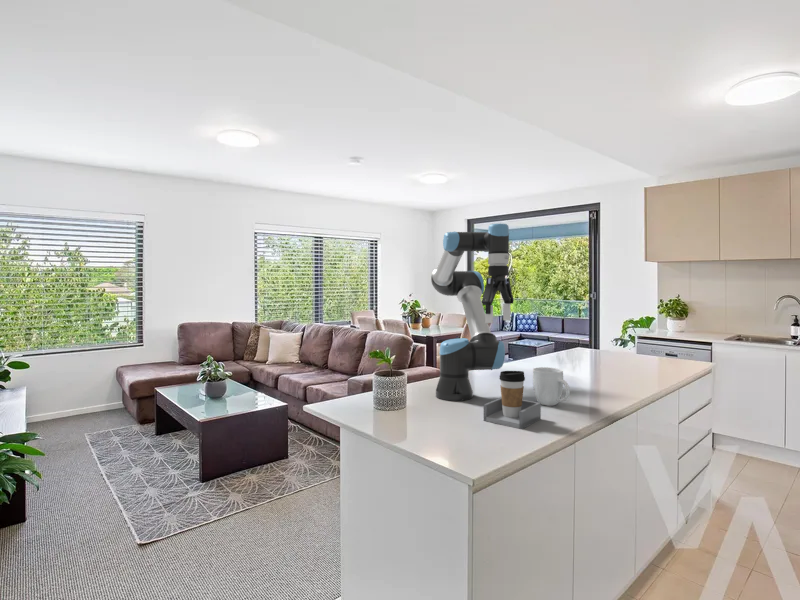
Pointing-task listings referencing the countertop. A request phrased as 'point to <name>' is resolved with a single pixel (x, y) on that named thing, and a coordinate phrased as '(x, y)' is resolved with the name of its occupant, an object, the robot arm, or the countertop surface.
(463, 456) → the countertop surface
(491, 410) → the dock
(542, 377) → the mug
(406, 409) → the countertop surface
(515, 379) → the coffee cup
